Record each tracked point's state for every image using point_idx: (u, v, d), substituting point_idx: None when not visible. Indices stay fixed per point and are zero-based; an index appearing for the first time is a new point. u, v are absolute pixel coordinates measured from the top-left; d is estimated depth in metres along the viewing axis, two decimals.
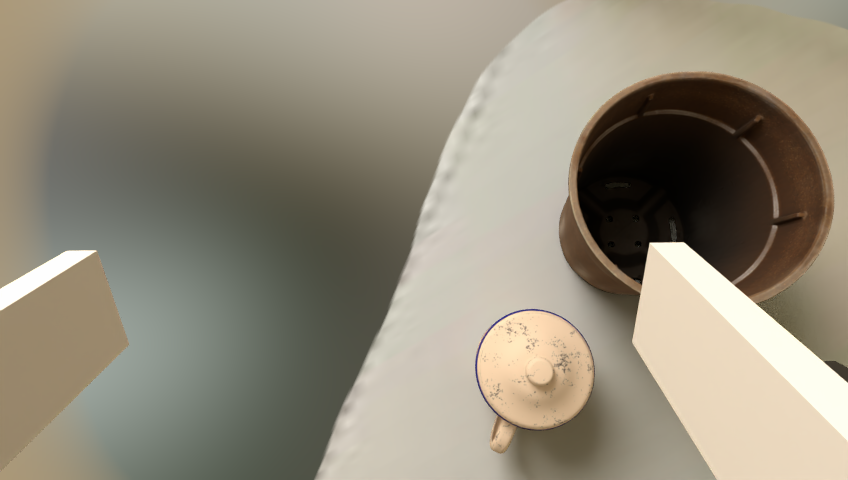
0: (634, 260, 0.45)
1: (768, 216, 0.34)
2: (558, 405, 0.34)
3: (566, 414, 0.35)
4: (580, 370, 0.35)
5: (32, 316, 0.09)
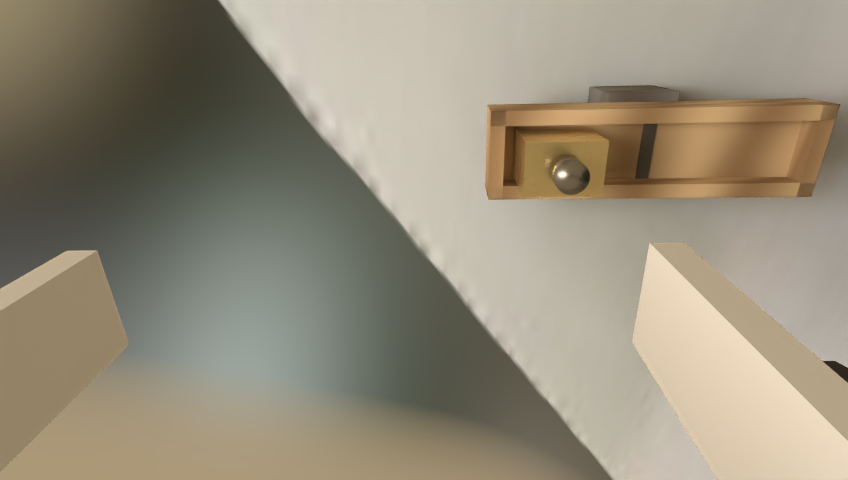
0: None
1: None
2: None
3: None
4: None
5: (32, 316, 0.09)
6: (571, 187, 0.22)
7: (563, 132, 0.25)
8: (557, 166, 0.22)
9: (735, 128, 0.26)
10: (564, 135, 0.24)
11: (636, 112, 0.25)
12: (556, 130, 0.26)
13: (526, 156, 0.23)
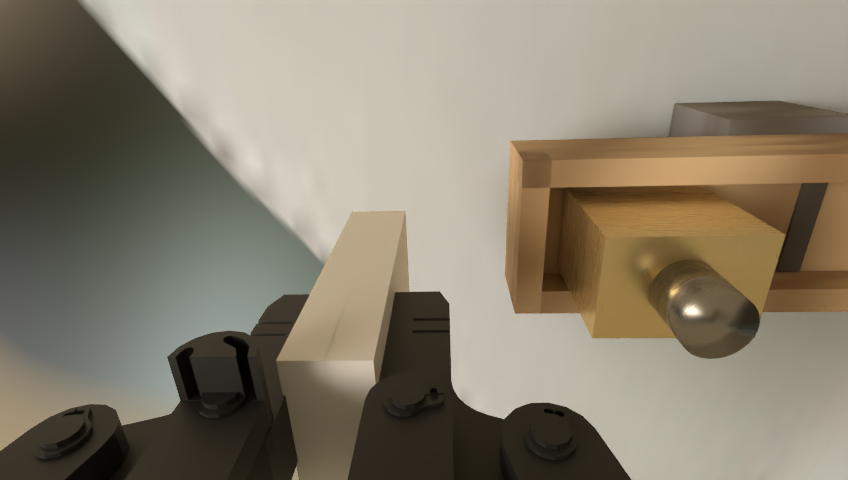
0: None
1: None
2: None
3: None
4: None
5: None
6: (713, 344, 0.10)
7: (664, 201, 0.13)
8: (683, 298, 0.10)
9: None
10: (672, 211, 0.12)
11: (807, 161, 0.13)
12: (646, 194, 0.13)
13: (604, 264, 0.11)
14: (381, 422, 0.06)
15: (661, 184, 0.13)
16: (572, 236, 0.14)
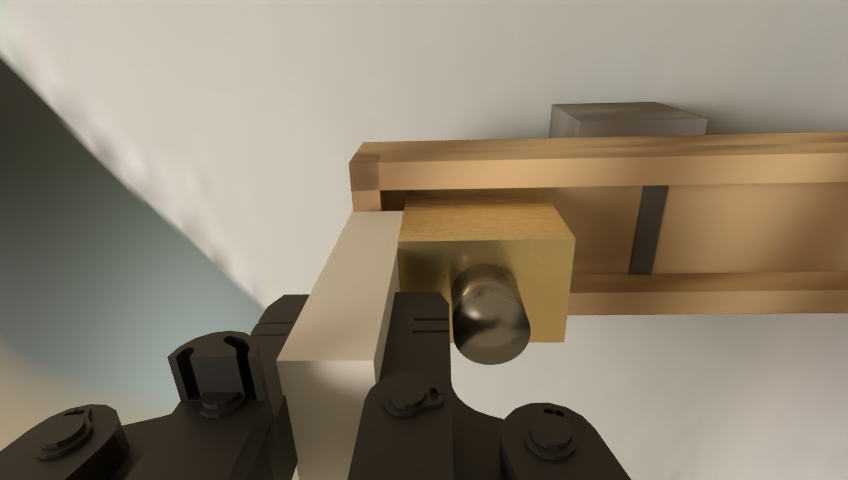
0: None
1: None
2: None
3: None
4: None
5: None
6: (490, 350, 0.10)
7: (490, 204, 0.13)
8: (459, 304, 0.10)
9: (813, 188, 0.14)
10: (488, 214, 0.12)
11: (631, 163, 0.13)
12: (479, 197, 0.13)
13: (401, 268, 0.11)
14: (381, 422, 0.06)
15: (490, 187, 0.13)
16: None
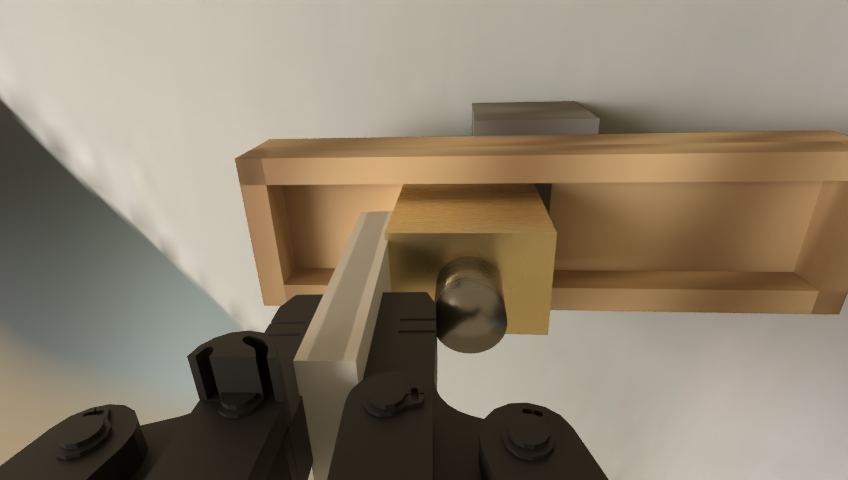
0: None
1: None
2: None
3: None
4: None
5: None
6: (468, 339, 0.10)
7: (480, 199, 0.13)
8: (440, 294, 0.10)
9: (697, 187, 0.14)
10: (476, 209, 0.12)
11: (500, 162, 0.13)
12: (471, 192, 0.14)
13: None
14: (361, 423, 0.06)
15: (369, 183, 0.14)
16: None
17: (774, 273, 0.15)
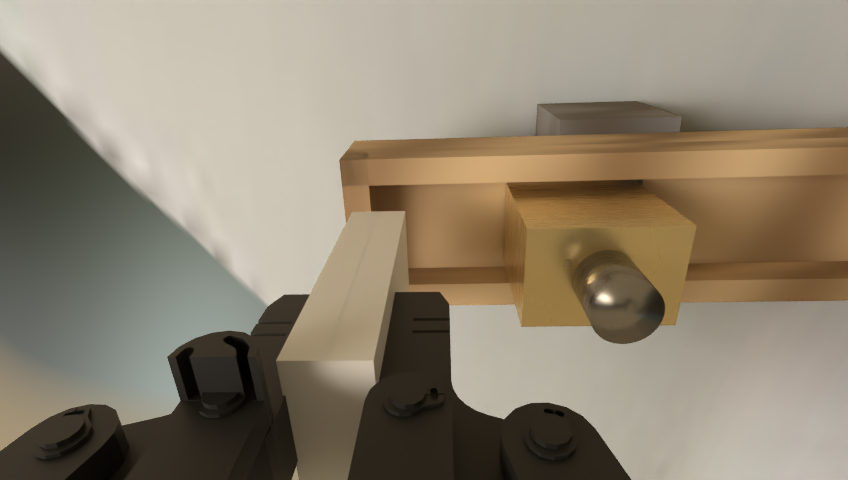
0: None
1: None
2: None
3: None
4: None
5: None
6: (624, 329, 0.10)
7: (595, 195, 0.13)
8: (595, 286, 0.10)
9: (781, 182, 0.15)
10: (599, 205, 0.13)
11: (604, 159, 0.13)
12: (580, 189, 0.14)
13: (528, 255, 0.12)
14: (381, 422, 0.06)
15: (472, 182, 0.14)
16: (510, 230, 0.14)
17: None
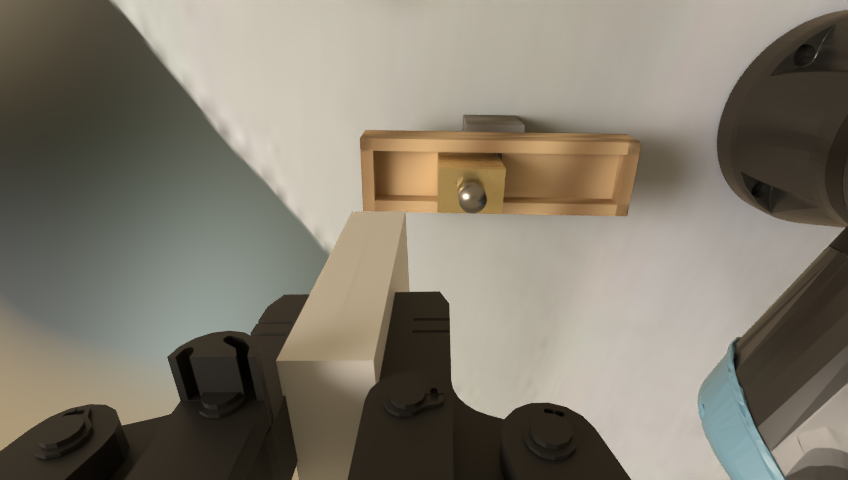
0: None
1: None
2: None
3: None
4: None
5: None
6: (472, 207, 0.27)
7: (474, 158, 0.30)
8: (461, 190, 0.27)
9: (566, 158, 0.31)
10: (473, 162, 0.29)
11: (479, 143, 0.30)
12: (470, 156, 0.30)
13: (439, 179, 0.28)
14: (381, 422, 0.06)
15: (420, 151, 0.30)
16: None
17: (602, 199, 0.32)
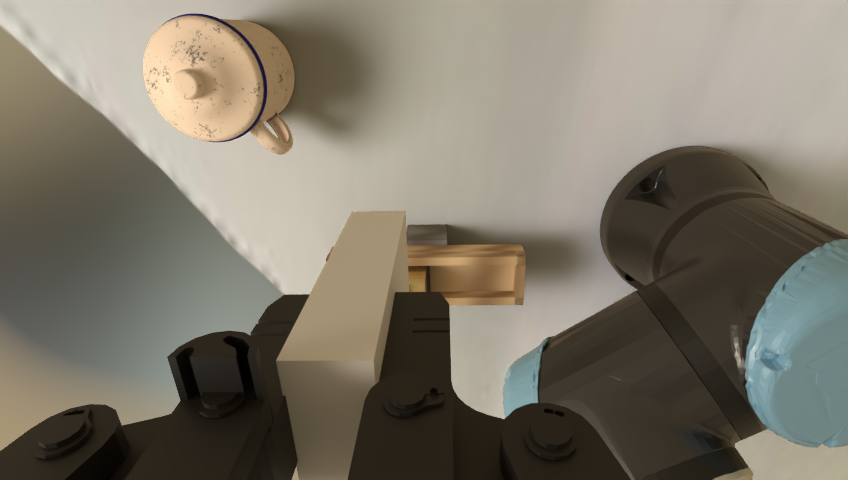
0: None
1: None
2: (237, 82, 0.34)
3: (251, 79, 0.34)
4: (214, 40, 0.33)
5: None
6: None
7: None
8: None
9: (476, 264, 0.43)
10: None
11: (410, 259, 0.42)
12: None
13: None
14: (381, 422, 0.06)
15: None
16: None
17: (506, 291, 0.44)
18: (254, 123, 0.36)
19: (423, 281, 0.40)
